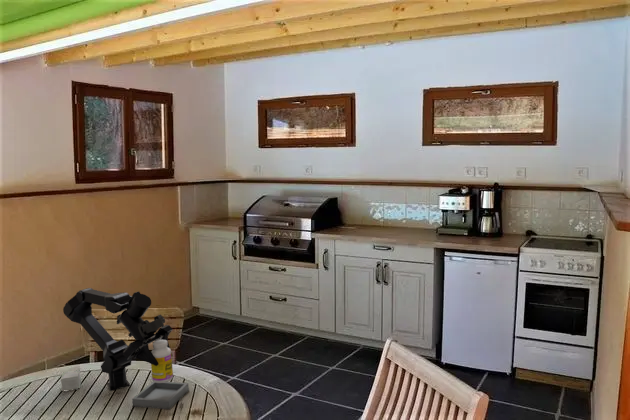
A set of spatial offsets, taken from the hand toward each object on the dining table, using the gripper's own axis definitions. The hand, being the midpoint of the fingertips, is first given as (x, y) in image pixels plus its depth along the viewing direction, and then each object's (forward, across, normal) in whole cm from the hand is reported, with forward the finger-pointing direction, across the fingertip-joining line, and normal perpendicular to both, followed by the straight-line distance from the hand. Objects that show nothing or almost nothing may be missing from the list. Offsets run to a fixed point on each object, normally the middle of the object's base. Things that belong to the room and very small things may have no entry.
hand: (164, 360), depth 172 cm
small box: (-18, -5, +36) cm, 40 cm away
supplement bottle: (+4, 0, +6) cm, 7 cm away
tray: (+8, -2, +10) cm, 13 cm away
